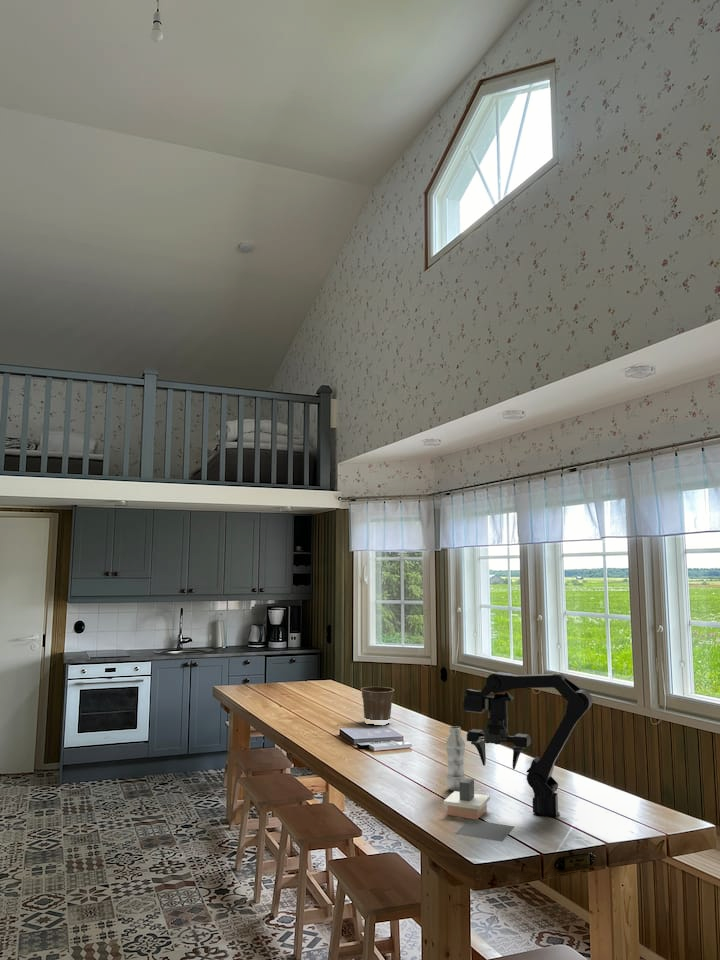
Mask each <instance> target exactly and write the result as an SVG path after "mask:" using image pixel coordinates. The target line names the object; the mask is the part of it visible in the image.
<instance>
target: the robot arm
mask: <svg viewBox="0 0 720 960" xmlns="http://www.w3.org/2000/svg"><path fill="white" fill-rule="evenodd" d="M538 688H539V689H540V688H541V689H545V688H554V689H555V690H556V691H557V692H558V693H559V694H560V696H562V698H564V699H565V701H566V702H567V705H566V707H565V710H564V711H565V712H564V716H563V718H562V719H561V720H562V721H560V723H559V724H558V725H559V726H558V727H557V729H556V731H555V732H554V734H553V737H552V738H551V741H550V742H549V743H548V744H547V747H546V749H545V751H544V752H543V754H542V756H541V757H539V756H538V755H537V756H535V757H534V758H533V759H532V761H531V762H530V763H531V764H530V767H529V768H528V769H527V770H526V773H527V775H526V782H527V784H528V785H529V787H531V789H532V792H533V794H534V796H533V797H532V815H533V816H536V817H543V818H549V819H550V818H551V819H556V818H558V817H559V815H560V814H561V813H560V811H559V799H558V797H559V796H558V792H557V790H558V788H559V783H558V782H557V781H556V780H555V779H554V777H552V774H553V771H554V767H555V763H556V761H557V759H558V758H559V755H560V753H561V752H562V750H563V748H564V746H565V745H566V742H567V741H568V739H569V737H570V735H571V734H572V732H573V730H574V728H575V726H576V725H577V723H578V721H579V720H580V719H581V718H582V717H583V715H584V714H585V713H586V712H587V711H588V710H589V709H590V708H591V706H592V705H593V697H592V695H591V693H590V692H589V691H587V690H586V689H581V688H580V687H579V686H578V685H577V684H575V683H574V682H572V681H571V680H569V679H568V678H567V677H566V676H565V675H564V674H563V673H561V672H560V673H559V672H556V673H544V674H543V673H542V674H541V673H540V674H538V673H537V674H514V673H511V672H504V671H496V672H493V673H490V674H489V675H488V676H487V677H486V680H485V685H484V687H483V688H482V689H481V690H480V689H479V690H475V689H471V688H468V689H466V690H465V695H464V697H463V702H462V703H463V709H464V712H469V713H478V714H479V713H480V714H484V713H485V711H487V710H488V718H487V725H486V726H485V728H484V730H483V729H477V728H472V729H470V730H468V732H466V741H467V742H470V744H471V745H473V746H474V747H475V748H476V750H477V752H478V754H479V757H480V761H481V763H482V766H486V761H487V760H486V759H487V758H486V757H487V755H486V753H487V752H486V744H487V745H488V744H494V745H500V744H501V742H504V743H512V744H513V745H514V746H513V747H512V751H513V752H512V770H515V769H516V767H517V763H518V761H519V758H520V755H521V753H522V751H523V750H525V748H528V747H529V746H530V745H531V744H532V739H531V738H532V737H531V736H530V734H528V733H527V734H526V733H516V734H515V735H509V729H508V728H509V725H508V722H509V717H508V702H511V701H513V700H514V699H515V697H514V696H513V695H512V694H511V693H510V692H509V691H511V690H515V689H516V690H517V689H538ZM503 692H505V693H503ZM491 694H494V695H491Z"/></svg>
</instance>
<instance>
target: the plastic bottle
mask: <svg viewBox="0 0 720 960" xmlns="http://www.w3.org/2000/svg"><path fill="white" fill-rule="evenodd" d="M461 729H462V728H461V726H457V725H455V726H453V725H452V726H449V736H448V737H447V739H446V741H445V750H446V757H447V759H446V760H447V768H446V769H447V772H446V778H445V785H446V788H447V790H450V791H453V792H454V791H457V792H460V781H461V780H462V779H464V778H466V776H465V769H464V767H465V766H464V757H465V748H466V742H465V740H464V739H463V737H462V736H461Z"/></svg>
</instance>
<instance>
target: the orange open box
mask: <svg viewBox="0 0 720 960" xmlns="http://www.w3.org/2000/svg"><path fill="white" fill-rule="evenodd" d="M487 803H488V802H487ZM487 803H486V804H485V805H484V806H483V808H482V809H481V810H479V809H471V808H464V807H457V806H450V805H447V815H448V816H454V817H460V818H466V819H469V820H470V819H471V820H477V821H478V820H479V818H481V817H482V816H483V815H484V814H485V813H486V812H487V810H488V809H487V808H488V807H487V806H488V805H487Z"/></svg>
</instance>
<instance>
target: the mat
mask: <svg viewBox="0 0 720 960" xmlns="http://www.w3.org/2000/svg"><path fill="white" fill-rule="evenodd" d="M513 829H515V826H514V825H513V826H512V825H510V824H509V825H508V824H507V825H506V824H503V823H494V822H488V821H483V820H478V819H477V820H476V819H470V818H469V819H468V820H467V821H466V822H465V823H464V824H463V825H462V826H461V827H460V828H459V829H458V830H457V831H456V832H455V834H456V835H461V836H467V837H473V838H474V837H475V838H479V839H485V840H490V841H496V842H503V841H504V840H505V839H506V838H507V837H508V836H509V834H510V833H511V832H512V831H513ZM455 834H454V835H455Z"/></svg>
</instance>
